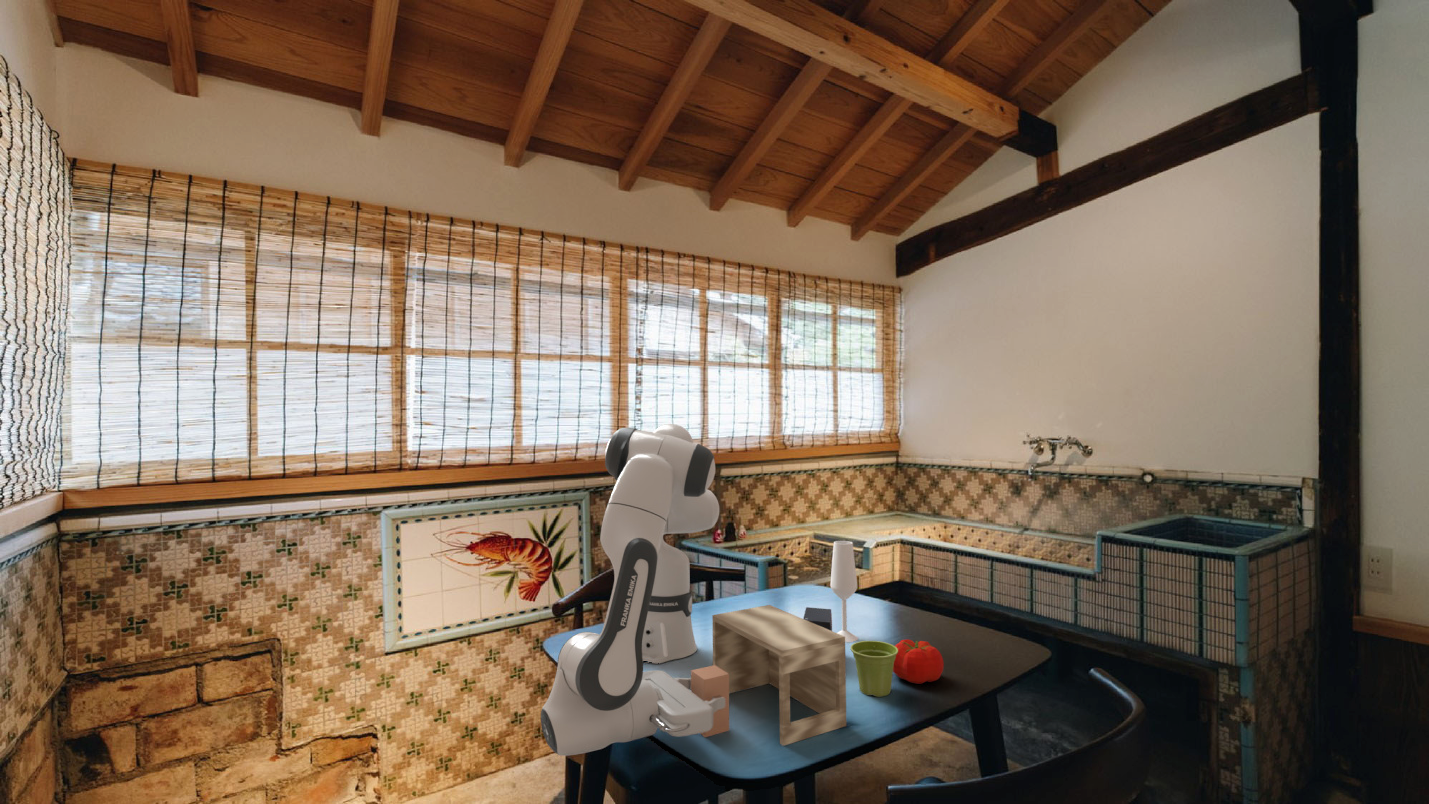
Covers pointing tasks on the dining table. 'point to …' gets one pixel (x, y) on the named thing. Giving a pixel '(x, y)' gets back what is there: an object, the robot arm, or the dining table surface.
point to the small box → (819, 617)
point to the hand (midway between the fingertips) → (710, 691)
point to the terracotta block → (712, 694)
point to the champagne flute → (844, 580)
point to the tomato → (917, 662)
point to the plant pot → (874, 666)
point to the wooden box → (785, 665)
